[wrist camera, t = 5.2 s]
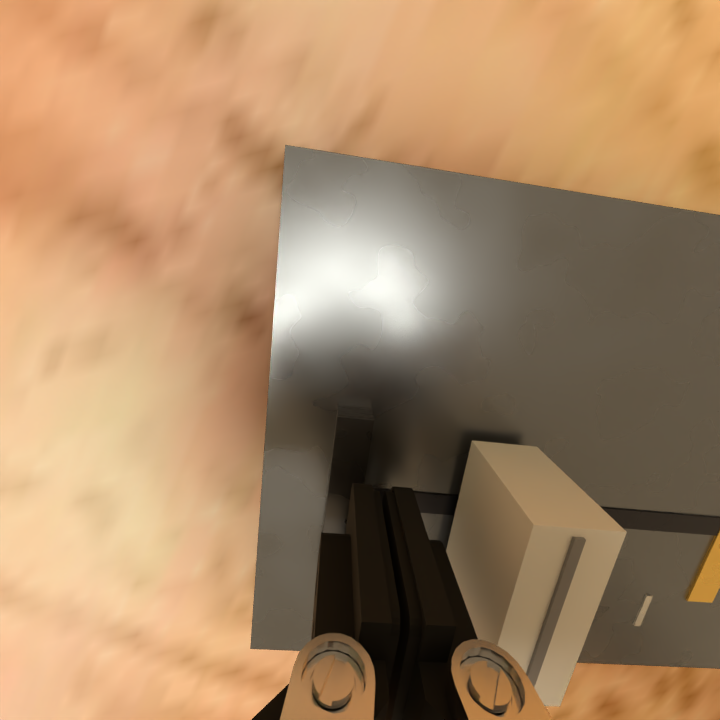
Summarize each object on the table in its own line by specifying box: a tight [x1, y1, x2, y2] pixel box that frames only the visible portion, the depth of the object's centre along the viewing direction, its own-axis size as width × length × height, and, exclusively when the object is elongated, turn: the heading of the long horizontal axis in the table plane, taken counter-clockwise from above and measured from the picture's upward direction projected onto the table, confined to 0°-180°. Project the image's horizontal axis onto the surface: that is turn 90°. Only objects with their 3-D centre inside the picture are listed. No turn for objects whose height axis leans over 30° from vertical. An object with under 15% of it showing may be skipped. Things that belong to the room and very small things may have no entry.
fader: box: [446, 440, 627, 706], centre depth 10 cm, size 2×5×4 cm, turn 172°
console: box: [250, 145, 720, 669], centre depth 12 cm, size 24×16×3 cm, turn 82°
